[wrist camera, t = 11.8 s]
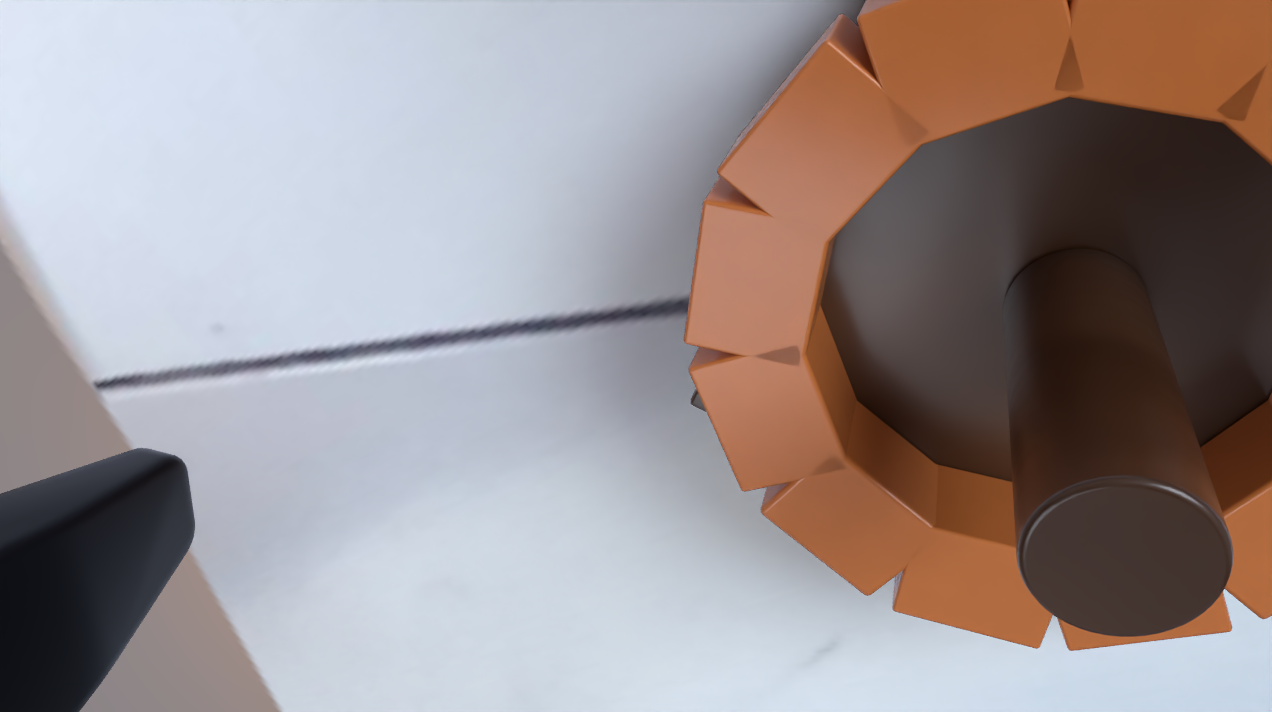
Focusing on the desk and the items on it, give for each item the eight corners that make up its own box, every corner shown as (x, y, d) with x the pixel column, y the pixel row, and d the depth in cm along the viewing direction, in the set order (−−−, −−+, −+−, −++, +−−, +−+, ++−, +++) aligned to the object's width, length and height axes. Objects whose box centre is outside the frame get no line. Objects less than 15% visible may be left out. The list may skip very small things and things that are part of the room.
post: (1159, 591, 19) (1248, 978, 13) (702, 372, 19) (579, 646, 13) (1569, 146, 14) (2026, 426, 8) (948, -131, 14) (932, -65, 8)
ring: (1282, 639, 17) (1312, 722, 16) (679, 488, 19) (653, 549, 18) (1641, -5, 12) (1737, 25, 11) (770, -124, 14) (745, -112, 13)
